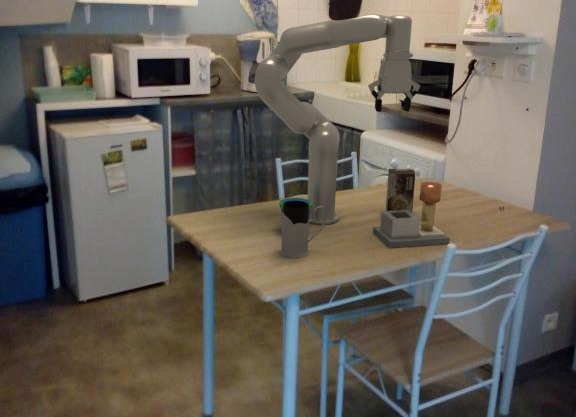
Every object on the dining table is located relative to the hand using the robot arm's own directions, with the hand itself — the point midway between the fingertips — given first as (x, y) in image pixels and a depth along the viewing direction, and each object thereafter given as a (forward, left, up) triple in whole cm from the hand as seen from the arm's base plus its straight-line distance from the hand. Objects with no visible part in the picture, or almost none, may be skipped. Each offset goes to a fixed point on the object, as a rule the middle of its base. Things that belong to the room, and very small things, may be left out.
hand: (392, 111), depth 200 cm
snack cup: (-32, -3, -38) cm, 50 cm away
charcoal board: (+3, -15, -38) cm, 41 cm away
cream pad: (+9, -15, -36) cm, 40 cm away
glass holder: (-34, -20, -38) cm, 55 cm away
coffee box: (+9, +8, -38) cm, 40 cm away
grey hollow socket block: (-1, -15, -36) cm, 39 cm away
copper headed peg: (+9, -15, -36) cm, 40 cm away
